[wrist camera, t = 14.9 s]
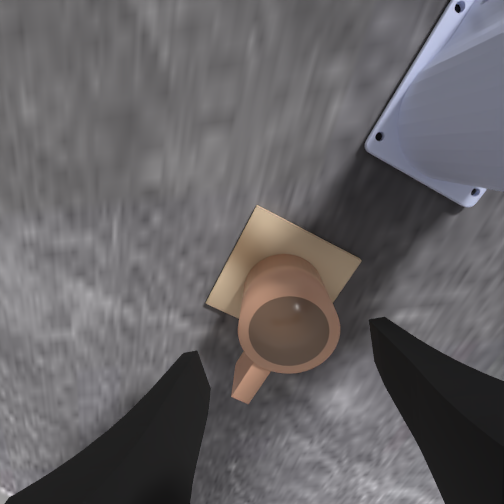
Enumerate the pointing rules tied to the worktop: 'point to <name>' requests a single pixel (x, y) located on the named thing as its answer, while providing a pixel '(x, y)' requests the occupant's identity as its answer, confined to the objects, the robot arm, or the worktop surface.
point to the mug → (282, 322)
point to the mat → (272, 243)
